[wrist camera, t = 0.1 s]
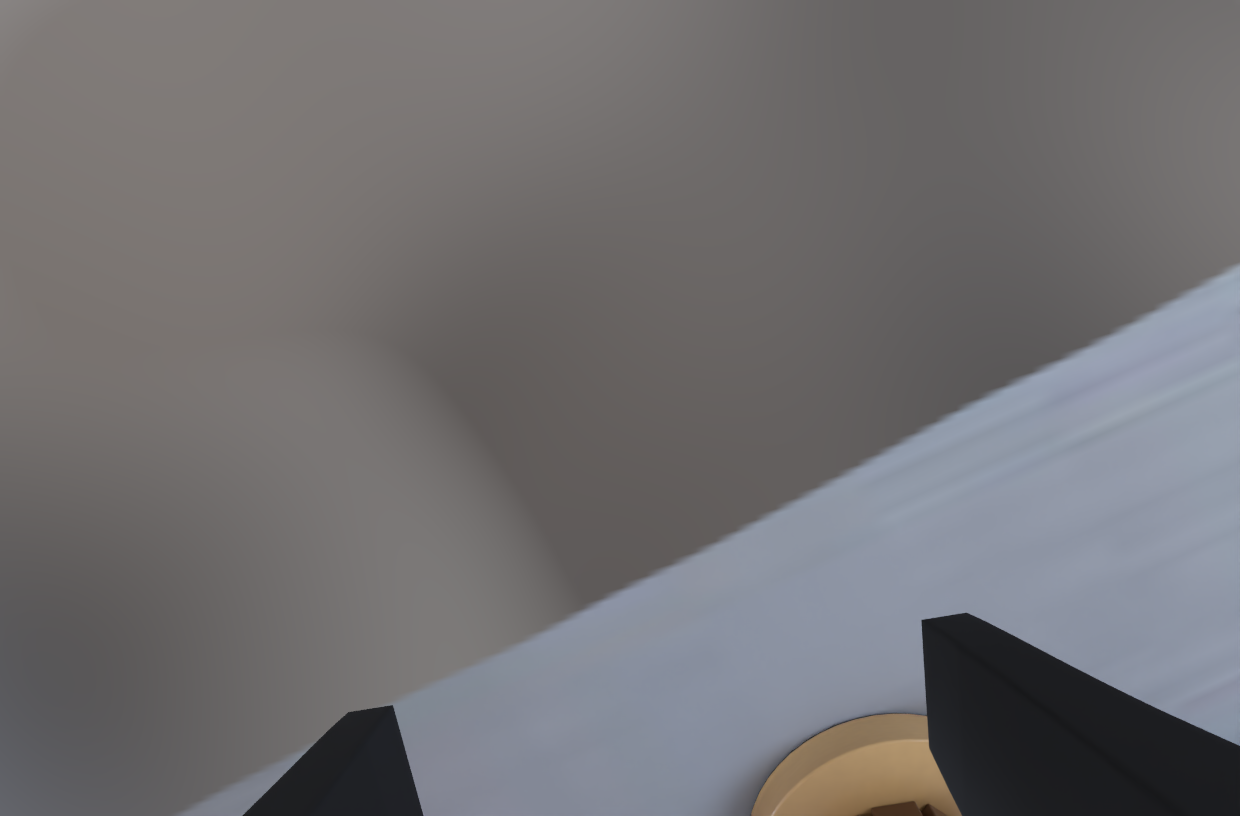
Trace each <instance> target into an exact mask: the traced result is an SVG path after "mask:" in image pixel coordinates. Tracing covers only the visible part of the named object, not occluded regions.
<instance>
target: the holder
mask: <svg viewBox="0 0 1240 816" xmlns="http://www.w3.org/2000/svg"><path fill="white" fill-rule="evenodd" d="M751 816H962V815H961V813H960V811H959V809H958V807H957V805H956V803H955V801H954V799H953V797H952V795H951V793H950V791H949V789H948V787H947V785H946V783H945V781H944V778H943V776H942V774H941V772H940V770H939V768H938V766H937V764H936V762H935V760H934V757H933V755H932V753H931V751H930V749H929V738H928V721H927V716H923V715H915V714H882V715H872V716H868V717H863V718H859V719H854V720H851V721H848V722H845V723H842V724H839V725H836V726H834V727H832V728H830V729H828V730H826V731H823V732H821V733H819V734H818V735H816V736H814V737H813V738H811V739H809V740H808V741H806V742H805V743H803V744H802V745H801V746H799V747H798V748H797V749H795V750H794V751H793V752H792V753H790V754H789V755H788V756H787V757H786V758H785V759H784V760H783V761H782V762H781V763H780V764H779V765H778V766H777V768H776V769H775V770H774V771H773V773H772V774H771V775H770V776H769V778H768V779H767V781H766V782H765V784H764V786H763V787H762V789H761V791H760V792H759V795H758V797H757V799H756V802H755V804H754V807H753V810H752V814H751Z"/></svg>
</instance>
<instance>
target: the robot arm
mask: <svg viewBox="0 0 1240 816" xmlns="http://www.w3.org/2000/svg"><path fill="white" fill-rule="evenodd" d="M922 637H923V654H924V670H925V687H926V704H927V721H928V738H929V749H930V751H931V753H932V755H933V757H934V760H935V762H936V764H937V766H938V768H939V770H940V772H941V774H942V776H943V778H944V781H945V783H946V785H947V787H948V789H949V791H950V793H951V795H952V797H953V799H954V801H955V803H956V805H957V807H958V809H959V811H960V813H961V815H962V816H1240V746H1239V745H1237V744H1234V743H1232V742H1230V741H1227V740H1225V739H1223V738H1221V737H1218V736H1216V735H1214V734H1212V733H1209V732H1207V731H1205V730H1203V729H1201V728H1198V727H1196V726H1194V725H1192V724H1190V723H1187V722H1185V721H1183V720H1181V719H1178V718H1176V717H1174V716H1172V715H1170V714H1167V713H1165V712H1163V711H1161V710H1159V709H1157V708H1155V707H1153V706H1151V705H1148V704H1146V703H1144V702H1142V701H1140V700H1138V699H1136V698H1134V697H1132V696H1130V695H1128V694H1126V693H1124V692H1122V691H1120V690H1118V689H1116V688H1114V687H1112V686H1110V685H1108V684H1106V683H1104V682H1102V681H1100V680H1098V679H1096V678H1094V677H1092V676H1090V675H1088V674H1086V673H1084V672H1082V671H1080V670H1078V669H1076V668H1074V667H1072V666H1070V665H1068V664H1066V663H1064V662H1063V661H1061V660H1059V659H1057V658H1055V657H1053V656H1051V655H1049V654H1047V653H1045V652H1043V651H1042V650H1040V649H1038V648H1036V647H1034V646H1032V645H1030V644H1028V643H1026V642H1024V641H1022V640H1021V639H1019V638H1017V637H1015V636H1013V635H1011V634H1009V633H1007V632H1005V631H1003V630H1001V629H999V628H997V627H995V626H993V625H991V624H990V623H987V622H985V621H983V620H981V619H979V618H977V617H975V616H973V615H970V614H968V613H962V614H956V615H950V616H944V617H938V618H931V619H925V620H922ZM243 816H423V813H422V809H421V805H420V802H419V798H418V795H417V791H416V787H415V784H414V780H413V777H412V773H411V769H410V766H409V762H408V759H407V755H406V751H405V748H404V744H403V740H402V737H401V733H400V730H399V726H398V722H397V719H396V715H395V712H394V708H393V705H391V706H385V707H379V708H372V709H366V710H361V711H354V712H348V713H347V714H346V715H345V716H344V717H343V718H342V719H340V720H339V721H338V722H337V723H336V724H335V725H334V726H333V727H332V728H331V729H330V730H328V731H327V732H326V733H325V734H324V735H323V736H322V737H321V738H320V739H319V740H318V741H317V742H316V743H315V744H314V745H313V746H312V747H311V748H310V749H309V750H308V751H307V752H306V753H305V754H304V755H303V756H302V757H301V758H300V759H299V760H298V761H297V762H296V763H295V764H294V765H293V766H292V767H291V768H290V769H289V770H288V771H287V772H286V773H285V774H284V775H283V776H282V777H281V778H280V779H279V780H278V781H277V782H276V783H275V784H274V785H273V786H272V787H271V788H270V789H269V790H268V791H267V792H266V793H265V794H264V795H263V796H262V797H261V798H260V799H259V800H258V801H257V802H256V803H255V804H254V805H253V806H252V807H251V808H250V809H249V810H248V811H247V812H246V813H245V814H244V815H243Z"/></svg>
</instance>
